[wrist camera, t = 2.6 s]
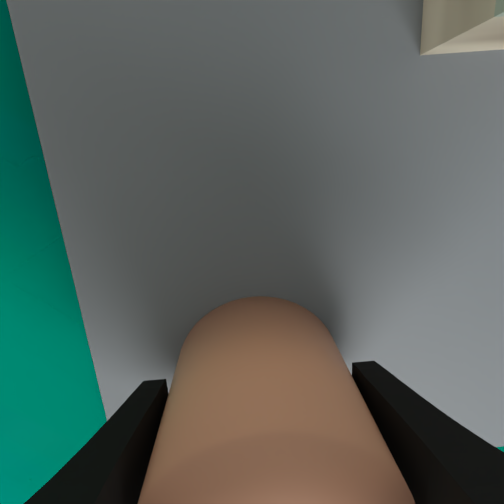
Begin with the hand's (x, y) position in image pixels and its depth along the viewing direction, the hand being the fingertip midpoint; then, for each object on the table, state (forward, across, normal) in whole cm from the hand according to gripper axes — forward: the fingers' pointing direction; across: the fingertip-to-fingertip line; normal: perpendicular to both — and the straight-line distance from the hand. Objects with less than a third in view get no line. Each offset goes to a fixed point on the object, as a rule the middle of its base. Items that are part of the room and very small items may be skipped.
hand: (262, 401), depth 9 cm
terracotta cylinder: (+1, 0, 0) cm, 1 cm away
